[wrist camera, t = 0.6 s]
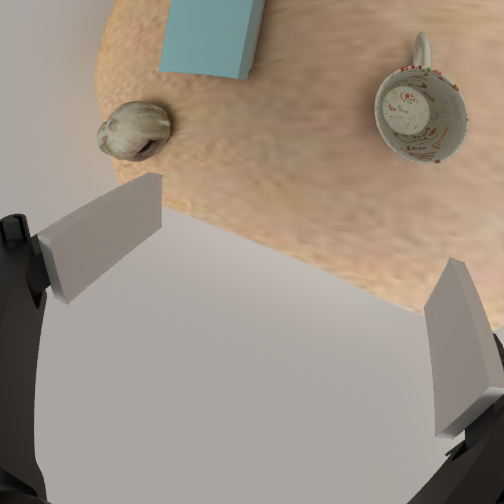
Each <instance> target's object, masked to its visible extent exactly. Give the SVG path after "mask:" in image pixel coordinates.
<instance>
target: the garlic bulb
mask: <svg viewBox="0 0 504 504" xmlns="http://www.w3.org/2000/svg"><path fill="white" fill-rule="evenodd" d="M170 124H171V122H170V121H169V119H168V116H167V113H166V111H164V109H163V108H161V107H159V106H155V105H153V104H151V103H149V102H142V101H133V102H127V103H124V104H122V105H121V106H120V107H118V108H117V109H116V110H115V111H114V112H113V113H112V114H111V115H110V117H109V119H108V121H107V122H105V123H103V124H102V126H101V127H100V129H99V130H98V136H97V142H98V146H99V148H100V150H101V151H102V152H104V153H106V154H109V155H112V156H113V157H115V158H117V159H119V160H124V159H125V160H128V161H134V162H140V161H144V160H146V159H147V158H150V157H151V156H152V155H153V154H154V153H158V152H159V150H160V149H161V148H162V147H163V145H164V144H165V142H166V140H167V139H168V138H169V137H170Z"/></svg>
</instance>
